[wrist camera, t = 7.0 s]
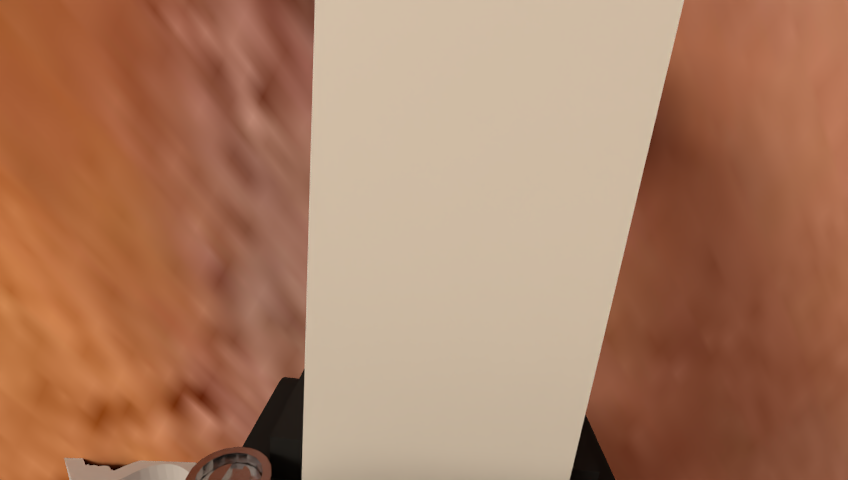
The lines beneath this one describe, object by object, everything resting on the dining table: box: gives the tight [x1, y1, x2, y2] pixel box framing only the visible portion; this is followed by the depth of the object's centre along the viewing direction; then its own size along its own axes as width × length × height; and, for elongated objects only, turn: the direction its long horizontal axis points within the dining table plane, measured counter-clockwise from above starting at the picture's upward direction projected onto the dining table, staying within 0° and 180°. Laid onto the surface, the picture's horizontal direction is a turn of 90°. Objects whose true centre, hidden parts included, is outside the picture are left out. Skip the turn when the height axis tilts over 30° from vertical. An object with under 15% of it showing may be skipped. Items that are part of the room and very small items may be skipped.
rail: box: [302, 0, 684, 480], centre depth 10 cm, size 22×4×5 cm, turn 174°
